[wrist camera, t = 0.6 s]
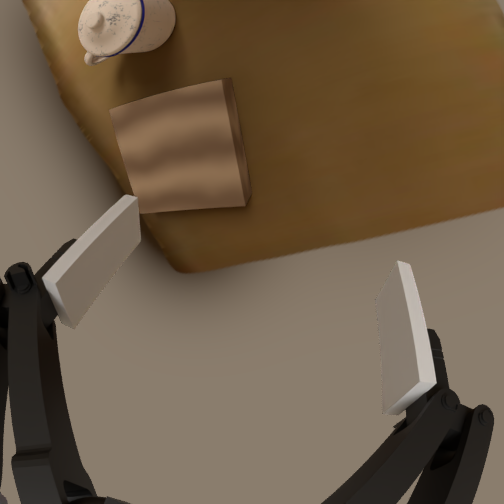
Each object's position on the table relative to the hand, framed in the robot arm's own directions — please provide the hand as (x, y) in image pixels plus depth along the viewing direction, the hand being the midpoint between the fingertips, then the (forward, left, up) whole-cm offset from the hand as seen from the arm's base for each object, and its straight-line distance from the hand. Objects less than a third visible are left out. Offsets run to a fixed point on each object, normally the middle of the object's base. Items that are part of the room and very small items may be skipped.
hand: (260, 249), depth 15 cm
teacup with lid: (-18, -18, -26) cm, 36 cm away
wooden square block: (0, -15, -26) cm, 30 cm away
